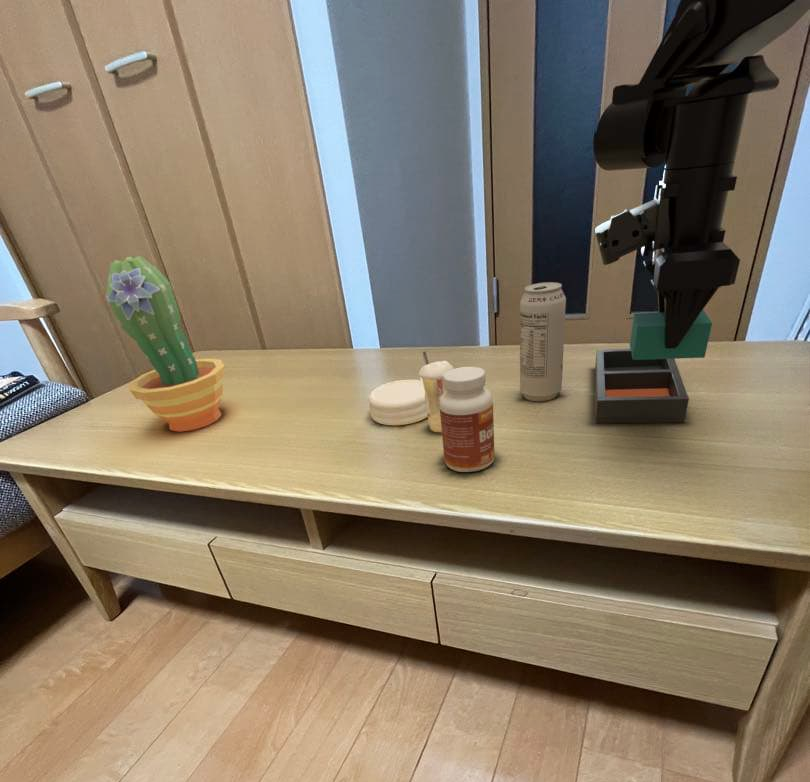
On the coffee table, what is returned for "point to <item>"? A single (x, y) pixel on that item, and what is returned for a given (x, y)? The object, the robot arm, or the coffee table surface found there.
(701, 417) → the coffee table surface
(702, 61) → the robot arm
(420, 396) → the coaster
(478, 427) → the pill bottle
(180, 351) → the potted cactus
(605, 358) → the pad holder
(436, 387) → the milkshake
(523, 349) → the energy drink can
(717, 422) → the coffee table surface
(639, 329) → the green rectangular block
